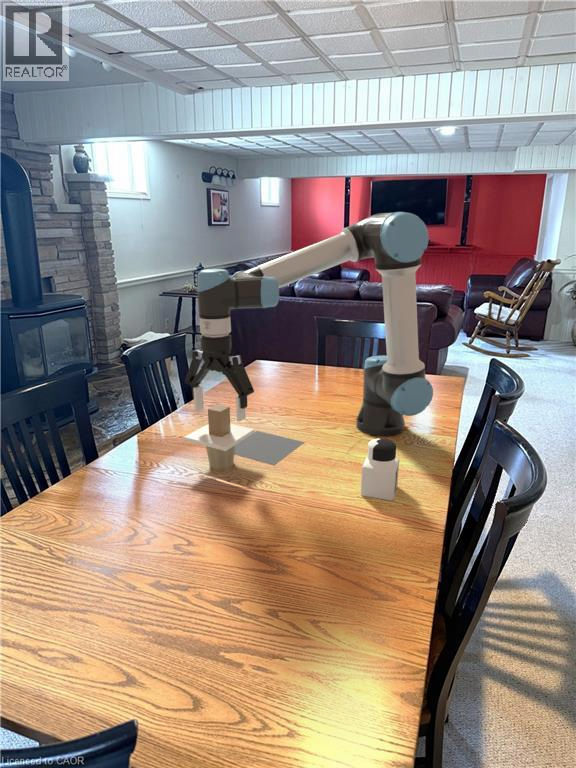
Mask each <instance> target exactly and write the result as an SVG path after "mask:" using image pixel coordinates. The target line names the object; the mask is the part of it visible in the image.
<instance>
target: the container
mask: <svg viewBox="0 0 576 768" xmlns="http://www.w3.org/2000/svg"><path fill="white" fill-rule="evenodd" d="M396 455H397V443H395V442H394V441H393V440H391V439H388V438H384V437H381V438H374V439H371V440H370V441H368V443H367V455H366V458H365V460H364V462H363V464H362V468H361V480H360V481H361V484H360V495H361V496H362V497H367V498H375V499H379V500H385V501H391V502H393V501H394V499H395V496H396V492H397V487H398V482H399V472H400V471H399V468H400V458H399V457H397V456H396Z"/></svg>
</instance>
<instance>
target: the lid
mask: <svg viewBox="0 0 576 768" xmlns="http://www.w3.org/2000/svg"><path fill="white" fill-rule="evenodd" d="M207 422H208V423H207V424H206V425H203V426H201V427H200V428H198V429H196V430H195V431H193V432H191V433H189V434H187V435H185V436H184V437H183V439H184V441H185V442H189V443H191V444H192V443H193V444H196V445H201V446H205V447H206V446H208V447H212V448H215V449H219V450H223V451H227V450H228V449H230V448H231V447H233V446H234V445H236V444H238V443H239V442H241V441H242V440H244V439H245V438H247V437H248V436H250V435H251V434H253V433H254V432H255V429H254V428H250V427H247V426H242V425H238V424H233V423H231V408H230V406H227V405H223V404H215V405H213V406H211V407H208V409H207Z"/></svg>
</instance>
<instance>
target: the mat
mask: <svg viewBox="0 0 576 768" xmlns="http://www.w3.org/2000/svg"><path fill="white" fill-rule="evenodd" d="M304 443H305V441H302V440H297V439H293V438H289V437H284V436H281V435H278V434H277V435H276V434H273V433H269V432H263V431H260V430H254V433H253V434H251V435H250V436H248V437H247V438H245V439H244V440H242V441H241V442H239V443H238V444H236V445H235V452H234V456H235V455H236V456H239V457H242V458H246V459H250V460H252V461H253V460H254V461H257V462H260V463H264V464H268V465H271V466H276V465H277V464H278V463H280V462H281V461H283V459H285V458H286V457H287V456H288V455H290V454H291V453H293V452H294V451H295V450H297V449H298V448H300V447H301V446H302V445H304Z"/></svg>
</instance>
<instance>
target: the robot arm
mask: <svg viewBox="0 0 576 768" xmlns="http://www.w3.org/2000/svg"><path fill="white" fill-rule="evenodd" d="M427 228H428V227H427V225H426V223H425V222H424V221H423V220H422V219H421V218H420V217H419V216H418V215H416V214H414V213H411V212H406V211H395V212H380V213H376V214H373V215H370V216H368V217H366V218H365V219H362V220H360V221H358V222H355V223H353V224H351V225H349V226H346V227H344V228H342V229H341V232H340V233H339V234H336V235H334V236H331V237H329V238H327V239H324V240H321V241H318V242H317V243H316V242H315V243H313V244H311V245H308V246H305V247H303V248H301V249H298V250H296V251H292V252H289V253H287V254H285V255H283V256H279V257H278V258H275V259H273V260H270V261H268V262H265V263H263V264H260V265H257V266H255V267H252V268H250V269H247V270H240V271H236V272H234V274H233V275H231V276H230V274H229V271H228V270H227V269H222V268H221V269H220V268H219V269H217V268H208V269H201V270H199V271H198V273H197V279H196V280H197V281H196V282H197V283H196V284H197V285H196V286H197V287H196V294H197V304H198V314H199V315H198V318H199V333H200V334H201V335H200V336H199V337H200V348H199V349H196V350H193V351H192V355H191V356H192V357H191V358H192V359H191V362H190V363H189V364H190V365H189V367H188V370H187V373H186V376H185V379H184V383H185V384H186V385H187V384H188V385H189V386H190V387H191V397H192V399H193V401H194V402H193V404H194V412H196V413H198V412H200V411H202V410H204V408H205V407H204V405H205V404H204V391H203V389H204V388H203V385H202V381H203V380H204V379H205V377H206V376H207V374H209V372H212V371H214V372H217V373H222V375H224V376H225V377H226V379H227V381H229V383H230V384H231V386H232V388H233V389H234V391H235V392H236V393H237V395H236V396H235V403H236V404H235V406H236V411H235V412H236V422H238V423H239V422H241V421H243V420H245V419H246V408H248V396H249V395H252V394H253V393H254V392H255V389H254V387H253V385H252V382H251V380H250V378H249V375H248V373H247V371H246V368H245V365H244V363H243V356H242V355H241V354H239V355H235V356H234V355H232V354H231V350H232V348H233V347H232V335H231V334H230V333H231V332H232V325H231V324H232V322H231V320H232V319H231V310H238V309H266V308H274V307H276V306H277V305H278V303H279V300H280V288H282V287H283V288H284V287H285V286H288V285H290V284H294V283H295V282H298V281H301V280H303V279H306V278H307V277H308V278H309V277H311V276H313V275H316V274H318V273H320V272H323V271H325V270H329V269H330V268H333V267H336V266H338V265H341V264H343V263H346V262H348V261H351V262H353V263H356V262H359V261H360V260H361V261H362V260H366V259H372V258H374V264H375V271H376V272H378V273H379V274H380V275H381V281H382V282H381V283H382V284H381V285H382V298H383V299H382V301H383V302H382V303H383V314H384V316H383V317H384V329H385V332H384V333H385V345H386V346H385V347H386V355H375V356H374V355H373V356H370V357H367V358H366V359H365V361H364V368H363V391H362V404H361V407H360V409H359V411H358V414H357V417H356V422H355V426H356V429H358V430H359V431H360V432H361V433H365V434H367V435H370V436H371V435H372V436H378V437H389V436H390V437H391V436H396V435H400V434H402V433H403V432H404V431H405V425H406V424H405V423H406V422H405V417H406V416H407V417H412V416H416V415H419V414H420V413H423V412H424V411H425V410H426V408H427V407H428V406H429V405H430V404H431V402H432V400H433V396H434V388H433V386H432V384H431V382H430V381H429V380H428V379H426V366H425V363H424V362H423V361H421V360H420V358H419V357H420V354H419V353H420V352H419V333H418V332H419V329H418V327H419V326H418V309H417V308H418V307H417V303H418V302H417V283H416V282H417V281H416V280H417V279H416V273H417V270H419V268H420V267H421V266H422V256H423V255H424V252H425V251H426V250H427V248H428V245H429V239H430V238H429V231H428V229H427ZM202 361H204V362H203V364H202V365H201V363H202ZM199 368H200V369H199ZM404 416H405V417H404Z"/></svg>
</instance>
